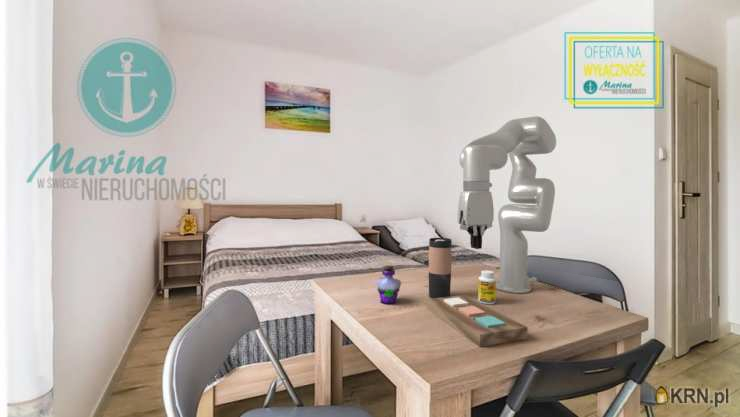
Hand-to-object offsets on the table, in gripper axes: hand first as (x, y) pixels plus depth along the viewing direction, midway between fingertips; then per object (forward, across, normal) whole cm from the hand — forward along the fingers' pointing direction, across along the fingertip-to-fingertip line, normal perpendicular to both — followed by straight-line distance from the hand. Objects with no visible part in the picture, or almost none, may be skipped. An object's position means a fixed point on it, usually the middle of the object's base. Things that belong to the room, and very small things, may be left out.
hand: (476, 247), depth 104 cm
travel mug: (+20, +4, -16) cm, 26 cm away
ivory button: (+19, +7, -1) cm, 20 cm away
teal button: (+18, +7, +15) cm, 25 cm away
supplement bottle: (+20, -8, -5) cm, 22 cm away
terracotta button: (+19, +7, +7) cm, 21 cm away
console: (+19, +7, +7) cm, 22 cm away
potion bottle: (+19, +23, -16) cm, 34 cm away
